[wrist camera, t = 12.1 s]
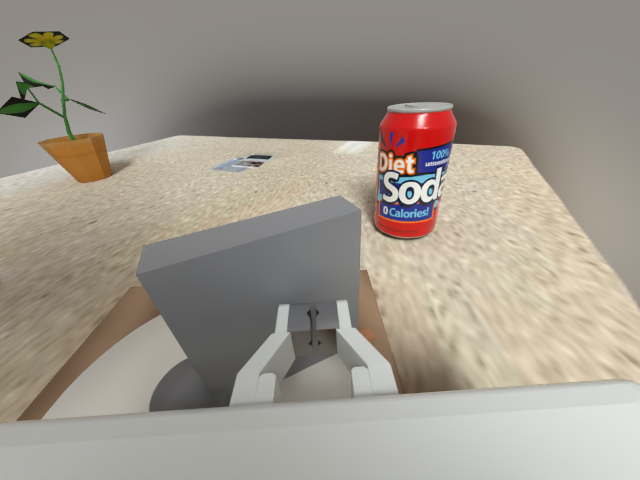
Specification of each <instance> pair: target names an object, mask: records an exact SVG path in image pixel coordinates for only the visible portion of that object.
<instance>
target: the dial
mask: <svg viewBox="0 0 640 480" xmlns="http://www.w3.org/2000/svg"><path fill="white" fill-rule="evenodd" d="M360 241H361V209H359V208H358V207H356V206H355V205H353V204H352V203H350V202H349V201H347V200H346V199H344V198H343V197H341V196H336V197H332V198H328V199H324V200H321V201H317V202H313V203H309V204H305V205H301V206H297V207H293V208H289V209H285V210H282V211H278V212H274V213H270V214H266V215H262V216H258V217H254V218H250V219H246V220H243V221H239V222H235V223H231V224H227V225H223V226H219V227H215V228H211V229H207V230H203V231H200V232H196V233H192V234H188V235H184V236H180V237H176V238H172V239H168V240H164V241H161V242H157V243H153V244H149V245H145V246H143V249H142V253H141V257H140V261H139V265H138V269H137V272H136V276H137V277H138V279H139V281H140V282H141V284H142V285H143V287H144V289H145V290H146V292H147V293H148V295H149V297H150V298H151V300H152V301H153V303H154V305H155V306H156V308H157V309H158V311H159V313H160V314H161V315H159V316H157V317H156V318H154V319H152V320H150V321H148V322H147V323H145V324H144V325H142V326H140V327H139V328H137V329H136V330H134V331H133V332H131V333H130V334H128V335H127V336H126V337H124V338H123V339H121V340H120V341H119V342H117V343H116V344H115V345H113V346H112V347H111V348H110V349H109V350H107V351H106V352H105V353H104V354H103V355H101V356H100V357H99V358H98V359H97V360H96V361H95V362H93V363H92V364H91V365H90V366H89V367H88V368H87V369H86V370H85V371H84V372H83V373H82V374H81V375H80V376H79V377H78V378H77V379H76V380H75V381H74V382H73V383H72V384H71V385H70V386H69V387H68V388H67V389H66V390H65V391H64V392H63V394H62V395H61V396H60V397H59V398H58V400H57V401H56V402H55V403H54V404H53V406H52V407H51V408H50V409H49V410H48V412H47V413H46V414H45V415H44V416H43V418H42V419H56V418H70V417H84V416H99V415H113V414H128V413H142V412H156V411H171V410H185V409H199V408H213V407H228V406H229V405H230V401H231V397H232V393H233V389H234V385H235V381H236V377H237V374H238V373H239V371H240V370H241V369H242V368H243V367H244V366H245V364H246V363H247V362H248V361H249V360H250V359H251V357H252V356H253V355H254V354H255V353H256V351H257V350H258V349H259V348H260V347H261V346H262V344H263V343H264V342H265V341H266V340H267V339H268V337H269V336H270V335H271V334H273V333H275V328H276V321H277V314H278V307H279V305H280V304H296V303H311V314H312V319H313V355H311V356H301V357H295V360H294V362H293V363H292V365H291V367H290V368H289V370H288V372H287V373H286V375H285V377H284V378H283V380H282V382H281V384H280V385H279V388H280V391H281V395H282V398H283V401H284V402H298V401H312V400H326V399H340V398H351V373H350V372H349V371H348V369H347V368H346V366H345V365H344V363H343V362H342V361H341V359H340V358H339V356H338V355H337V354H327V355H319V348H318V340H317V330H316V302H323V301H335V300H347V303H348V309H349V314H350V320H351V326H352V328H356V329H357V330H358V315H359V278H360Z"/></svg>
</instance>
